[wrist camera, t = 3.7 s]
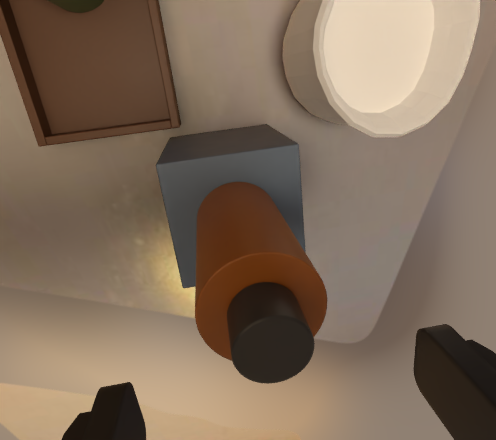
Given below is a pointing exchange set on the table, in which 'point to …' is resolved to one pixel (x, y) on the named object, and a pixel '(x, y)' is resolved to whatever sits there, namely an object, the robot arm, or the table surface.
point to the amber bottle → (255, 285)
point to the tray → (90, 68)
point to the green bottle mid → (77, 5)
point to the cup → (378, 60)
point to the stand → (226, 180)
